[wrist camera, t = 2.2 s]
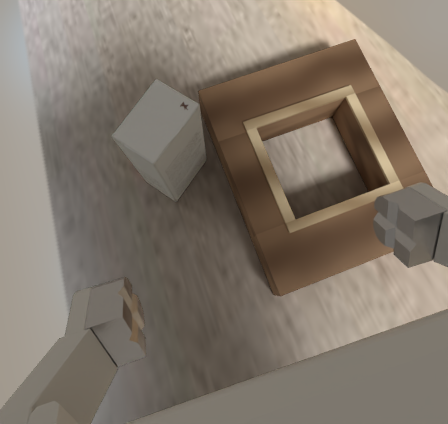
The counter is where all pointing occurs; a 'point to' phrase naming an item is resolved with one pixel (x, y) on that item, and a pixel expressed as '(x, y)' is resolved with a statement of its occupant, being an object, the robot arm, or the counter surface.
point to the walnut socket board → (294, 119)
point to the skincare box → (164, 139)
